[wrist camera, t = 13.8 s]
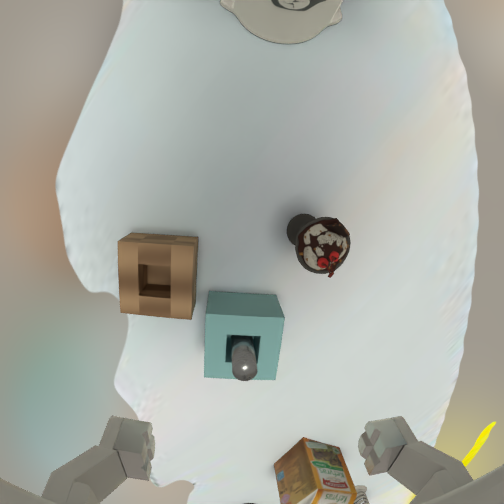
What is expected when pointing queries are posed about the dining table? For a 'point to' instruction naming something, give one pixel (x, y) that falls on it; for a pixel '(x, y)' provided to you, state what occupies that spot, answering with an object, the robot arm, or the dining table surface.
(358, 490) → the french press
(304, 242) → the sundae
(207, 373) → the teal storage box
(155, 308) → the socket
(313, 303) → the dining table surface
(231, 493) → the dining table surface
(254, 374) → the peg
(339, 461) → the milk carton
